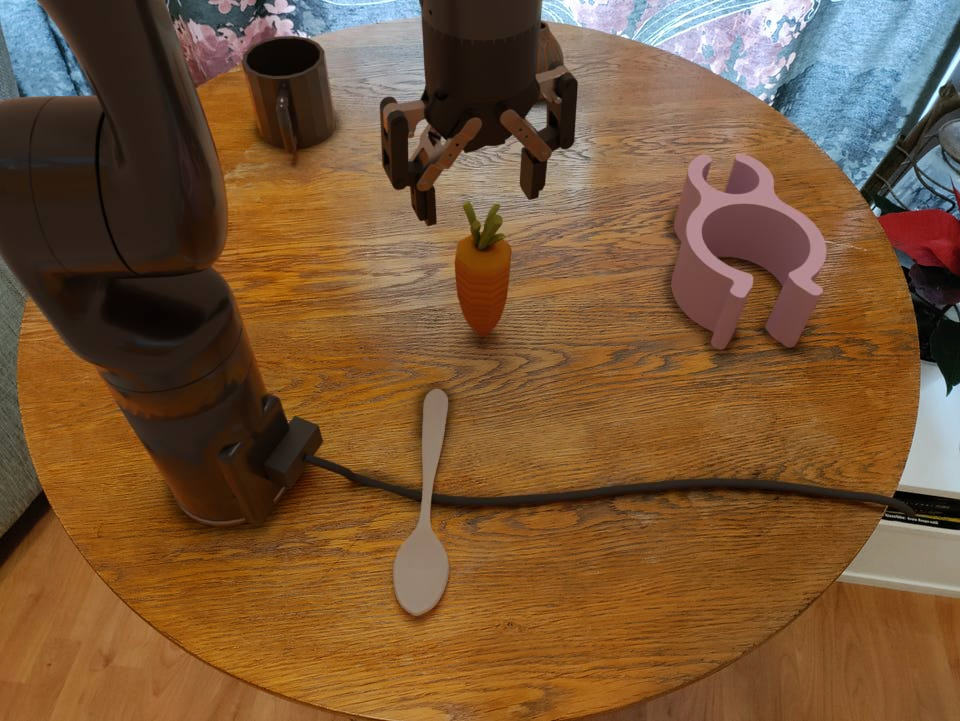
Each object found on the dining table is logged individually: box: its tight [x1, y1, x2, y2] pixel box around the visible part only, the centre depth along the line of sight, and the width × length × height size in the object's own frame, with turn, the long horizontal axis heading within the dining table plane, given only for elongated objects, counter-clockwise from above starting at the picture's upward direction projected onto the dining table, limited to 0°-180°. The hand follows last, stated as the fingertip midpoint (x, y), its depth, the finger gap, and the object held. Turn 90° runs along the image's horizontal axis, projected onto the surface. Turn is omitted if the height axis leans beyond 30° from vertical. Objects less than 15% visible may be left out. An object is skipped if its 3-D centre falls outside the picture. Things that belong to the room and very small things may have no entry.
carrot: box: [454, 200, 512, 338], centre depth 65 cm, size 5×5×15 cm
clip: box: [670, 153, 827, 351], centre depth 74 cm, size 20×12×7 cm, turn 3°
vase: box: [536, 20, 565, 101], centre depth 94 cm, size 7×7×9 cm
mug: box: [241, 35, 336, 154], centre depth 87 cm, size 13×9×9 cm
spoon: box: [392, 388, 450, 617], centre depth 60 cm, size 4×21×2 cm, turn 178°
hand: (479, 205), depth 60 cm, fingers open, 8 cm apart
